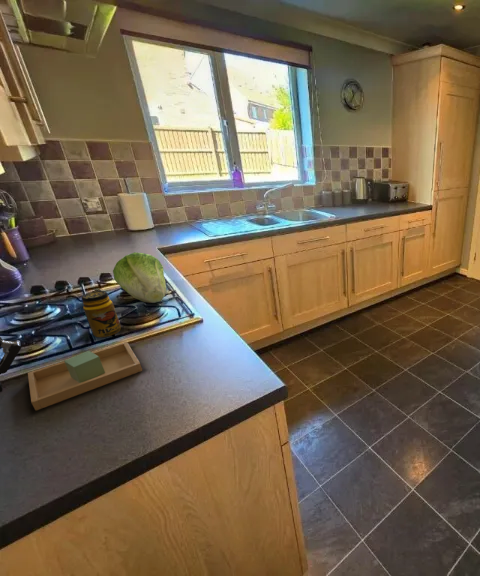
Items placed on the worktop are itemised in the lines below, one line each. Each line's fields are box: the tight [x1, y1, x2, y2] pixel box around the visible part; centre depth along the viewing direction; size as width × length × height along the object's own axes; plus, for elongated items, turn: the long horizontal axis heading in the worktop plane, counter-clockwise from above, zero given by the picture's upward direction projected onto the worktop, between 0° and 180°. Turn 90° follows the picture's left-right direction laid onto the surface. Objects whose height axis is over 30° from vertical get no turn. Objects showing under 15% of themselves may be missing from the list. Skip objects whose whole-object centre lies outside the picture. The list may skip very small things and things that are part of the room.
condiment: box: [81, 290, 122, 338], centre depth 88 cm, size 7×8×12 cm
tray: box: [27, 341, 143, 411], centre depth 73 cm, size 18×13×3 cm
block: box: [63, 350, 105, 383], centre depth 73 cm, size 4×4×4 cm
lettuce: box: [112, 251, 167, 304], centre depth 110 cm, size 14×24×14 cm
